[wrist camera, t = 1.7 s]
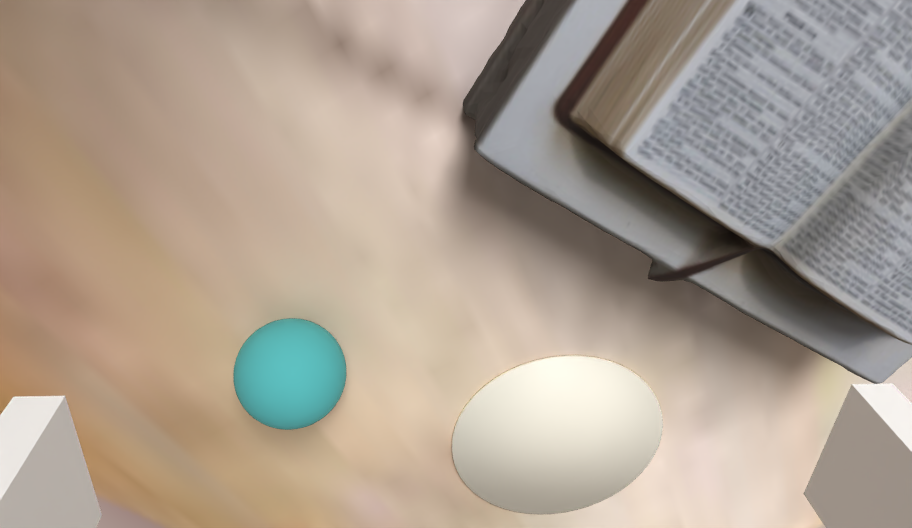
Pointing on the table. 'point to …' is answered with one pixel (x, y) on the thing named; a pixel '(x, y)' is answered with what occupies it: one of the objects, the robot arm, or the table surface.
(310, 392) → the ball
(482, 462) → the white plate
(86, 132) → the table surface
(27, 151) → the table surface
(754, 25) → the bible
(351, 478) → the table surface
